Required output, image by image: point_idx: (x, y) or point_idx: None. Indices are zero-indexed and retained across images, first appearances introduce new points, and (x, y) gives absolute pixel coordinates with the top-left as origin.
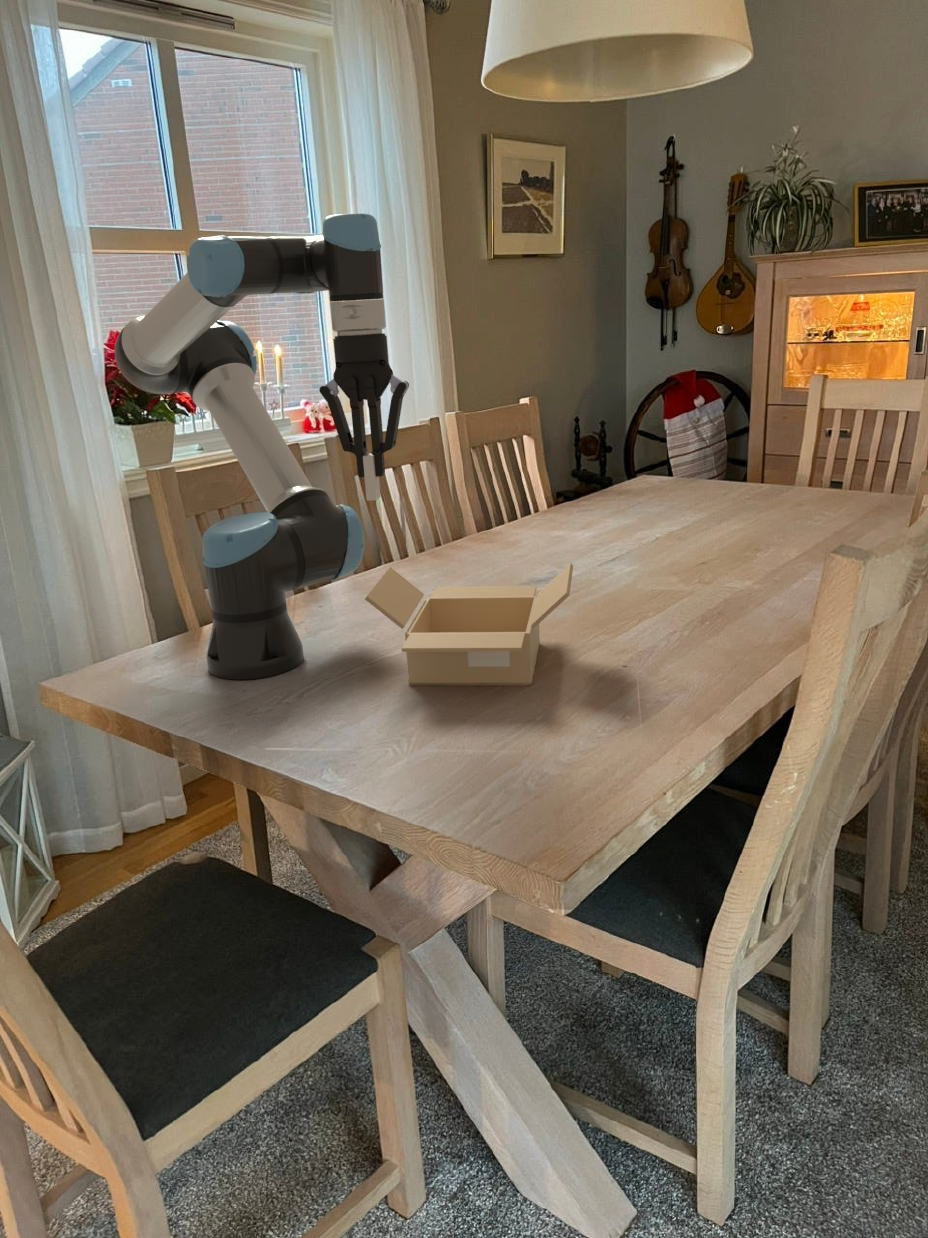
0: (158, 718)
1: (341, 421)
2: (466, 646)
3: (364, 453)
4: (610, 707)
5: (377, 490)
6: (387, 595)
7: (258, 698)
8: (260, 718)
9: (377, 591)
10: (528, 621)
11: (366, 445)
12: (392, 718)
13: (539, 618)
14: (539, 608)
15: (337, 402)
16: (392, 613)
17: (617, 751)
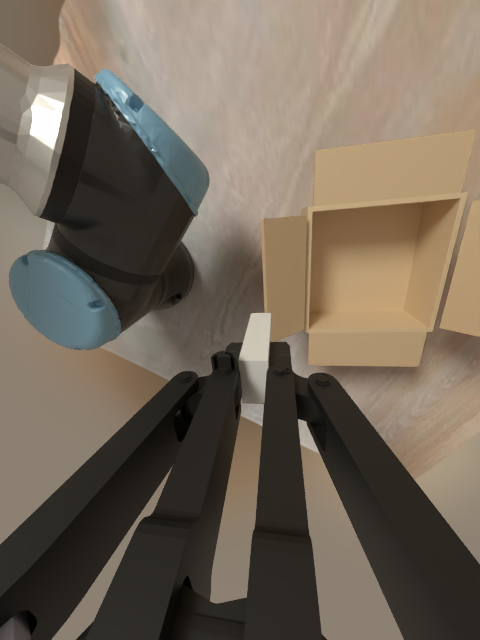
0: (149, 364)
1: (149, 494)
2: (366, 362)
3: (241, 392)
4: (465, 347)
5: (271, 339)
6: (280, 303)
7: (194, 335)
8: (211, 364)
9: (272, 315)
10: (436, 297)
11: (235, 378)
12: (298, 364)
13: (453, 330)
14: (460, 293)
15: (72, 581)
16: (292, 329)
17: (451, 405)
